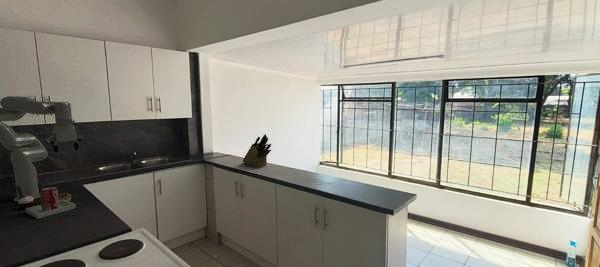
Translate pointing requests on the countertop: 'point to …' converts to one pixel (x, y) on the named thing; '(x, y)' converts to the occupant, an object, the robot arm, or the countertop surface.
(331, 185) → the countertop surface
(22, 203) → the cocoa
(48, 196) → the soda can
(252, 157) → the knife block
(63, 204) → the tray
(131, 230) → the countertop surface
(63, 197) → the can holder
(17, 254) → the countertop surface
